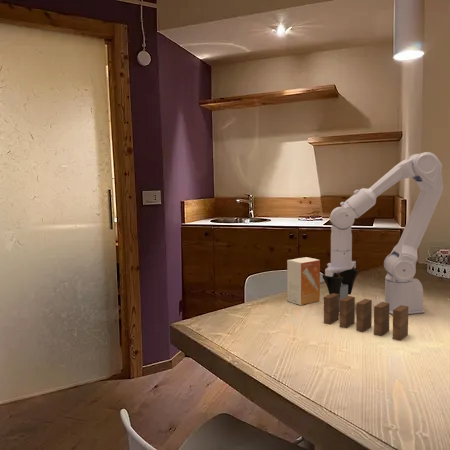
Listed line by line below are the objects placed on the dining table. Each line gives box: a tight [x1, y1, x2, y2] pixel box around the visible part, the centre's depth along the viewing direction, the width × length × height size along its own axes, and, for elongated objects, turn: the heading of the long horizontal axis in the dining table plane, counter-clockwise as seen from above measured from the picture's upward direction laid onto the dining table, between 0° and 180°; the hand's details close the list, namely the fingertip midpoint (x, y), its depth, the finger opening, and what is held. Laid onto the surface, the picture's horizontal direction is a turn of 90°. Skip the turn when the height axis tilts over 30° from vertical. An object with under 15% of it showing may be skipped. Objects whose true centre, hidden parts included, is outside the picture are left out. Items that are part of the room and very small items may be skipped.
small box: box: [286, 256, 321, 306], centre depth 132 cm, size 8×6×13 cm
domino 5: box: [392, 305, 409, 342], centre depth 101 cm, size 2×5×7 cm, turn 138°
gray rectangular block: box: [339, 283, 349, 314], centre depth 123 cm, size 2×5×7 cm, turn 138°
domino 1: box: [323, 293, 340, 325], centre depth 113 cm, size 2×5×7 cm, turn 138°
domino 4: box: [373, 301, 390, 337], centre depth 104 cm, size 2×5×7 cm, turn 138°
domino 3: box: [355, 298, 373, 333], centre depth 107 cm, size 2×5×7 cm, turn 137°
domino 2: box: [339, 295, 356, 329], centre depth 110 cm, size 2×5×7 cm, turn 138°
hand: (340, 296), depth 123 cm, fingers open, 7 cm apart
